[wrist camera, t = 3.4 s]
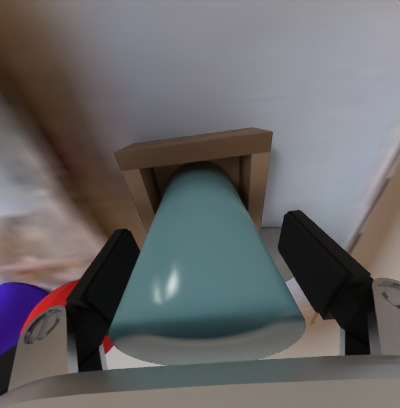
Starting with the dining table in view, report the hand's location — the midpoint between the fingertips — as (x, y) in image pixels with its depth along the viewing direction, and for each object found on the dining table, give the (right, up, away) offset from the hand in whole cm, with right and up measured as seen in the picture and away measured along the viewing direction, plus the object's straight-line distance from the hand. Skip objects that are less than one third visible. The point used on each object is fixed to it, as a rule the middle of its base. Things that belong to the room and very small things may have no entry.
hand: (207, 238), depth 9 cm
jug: (0, +2, +6) cm, 6 cm away
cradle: (0, +4, +6) cm, 7 cm away
